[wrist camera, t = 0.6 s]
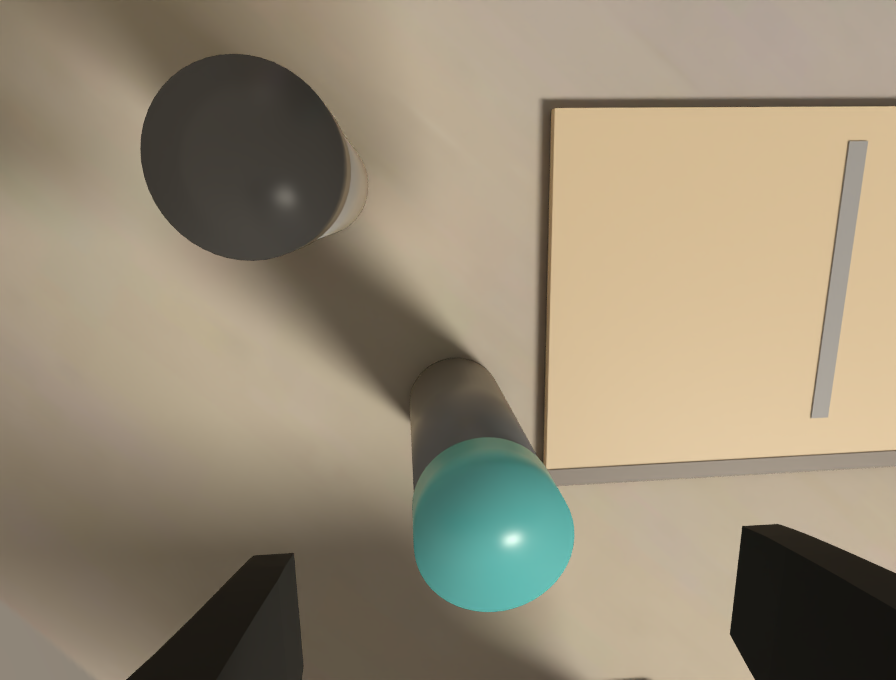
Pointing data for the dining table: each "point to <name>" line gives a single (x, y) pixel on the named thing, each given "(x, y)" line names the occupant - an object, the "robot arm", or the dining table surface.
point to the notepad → (720, 292)
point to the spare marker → (249, 159)
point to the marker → (481, 494)
